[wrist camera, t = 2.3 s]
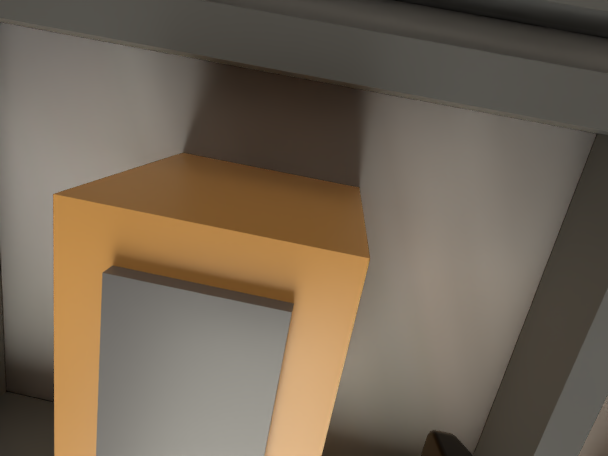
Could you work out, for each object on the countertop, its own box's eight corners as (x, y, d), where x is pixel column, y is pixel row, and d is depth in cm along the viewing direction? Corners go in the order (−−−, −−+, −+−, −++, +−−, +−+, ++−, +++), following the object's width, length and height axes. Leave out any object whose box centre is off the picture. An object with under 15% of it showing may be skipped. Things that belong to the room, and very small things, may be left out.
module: (164, 361, 14) (44, 534, 8) (183, 152, 12) (39, 198, 6) (312, 393, 14) (290, 593, 8) (359, 187, 12) (371, 266, 6)
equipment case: (-20, 408, 15) (-89, 466, 13) (-50, -29, 11) (-162, -66, 8) (480, 520, 14) (506, 604, 12) (655, 99, 10) (750, 99, 8)
